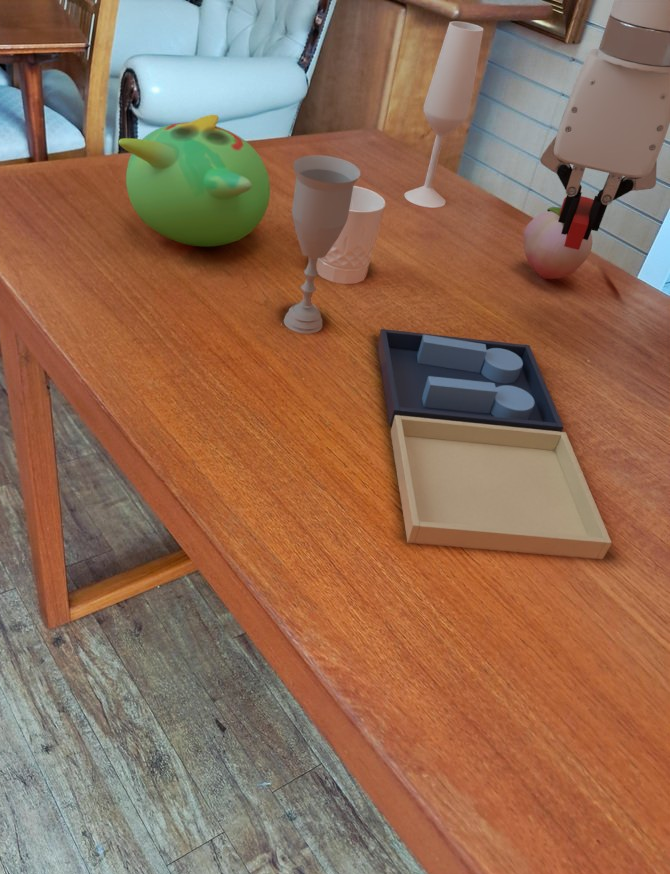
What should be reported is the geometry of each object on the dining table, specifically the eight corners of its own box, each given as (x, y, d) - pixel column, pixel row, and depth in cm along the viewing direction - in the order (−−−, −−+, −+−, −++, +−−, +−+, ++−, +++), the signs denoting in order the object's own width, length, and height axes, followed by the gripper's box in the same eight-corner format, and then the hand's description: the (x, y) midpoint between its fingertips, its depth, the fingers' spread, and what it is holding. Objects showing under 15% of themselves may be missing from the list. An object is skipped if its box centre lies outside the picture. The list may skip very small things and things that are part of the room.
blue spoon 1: (515, 364, 90) (523, 343, 88) (520, 386, 87) (528, 365, 85) (416, 349, 90) (422, 327, 88) (417, 370, 86) (423, 348, 84)
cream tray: (557, 451, 80) (565, 432, 78) (600, 562, 68) (612, 542, 67) (389, 434, 78) (394, 414, 76) (406, 546, 67) (412, 525, 65)
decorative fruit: (588, 294, 107) (618, 222, 100) (536, 296, 104) (563, 223, 98) (553, 261, 113) (579, 192, 106) (503, 262, 111) (526, 191, 104)
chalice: (320, 349, 88) (348, 189, 76) (263, 332, 89) (282, 171, 77) (340, 320, 93) (369, 166, 81) (286, 304, 94) (307, 149, 82)
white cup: (360, 295, 98) (376, 217, 92) (301, 278, 100) (312, 200, 93) (376, 269, 104) (392, 194, 97) (319, 254, 105) (331, 179, 98)
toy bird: (274, 227, 110) (287, 115, 100) (247, 282, 97) (259, 160, 87) (148, 202, 110) (149, 88, 100) (106, 253, 98) (102, 129, 88)
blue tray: (522, 363, 91) (529, 345, 90) (555, 446, 80) (563, 426, 78) (376, 347, 90) (380, 328, 88) (388, 430, 79) (394, 409, 77)
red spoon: (560, 207, 93) (568, 183, 91) (598, 216, 92) (607, 192, 90) (550, 243, 85) (559, 218, 83) (592, 253, 84) (601, 228, 82)
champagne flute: (396, 197, 123) (433, 22, 107) (416, 186, 128) (455, 17, 112) (434, 211, 121) (478, 35, 105) (453, 200, 125) (498, 29, 109)
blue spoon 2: (524, 401, 85) (532, 379, 83) (533, 426, 81) (542, 404, 79) (420, 390, 84) (426, 368, 82) (425, 415, 80) (432, 392, 78)
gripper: (726, 53, 76) (648, 237, 88) (563, 22, 79) (509, 204, 91) (731, 70, 70) (647, 263, 83) (555, 35, 73) (499, 227, 86)
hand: (575, 231), depth 87 cm, fingers closed on red spoon, 1 cm apart
